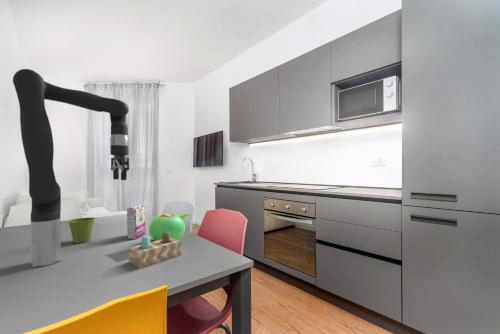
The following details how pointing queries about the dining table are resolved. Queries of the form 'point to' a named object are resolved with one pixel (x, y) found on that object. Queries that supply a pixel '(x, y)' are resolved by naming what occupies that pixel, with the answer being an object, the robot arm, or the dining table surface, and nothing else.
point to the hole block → (154, 252)
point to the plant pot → (81, 229)
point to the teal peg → (145, 242)
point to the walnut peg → (165, 237)
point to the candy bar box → (136, 221)
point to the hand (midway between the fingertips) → (119, 179)
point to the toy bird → (168, 226)
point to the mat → (119, 255)
